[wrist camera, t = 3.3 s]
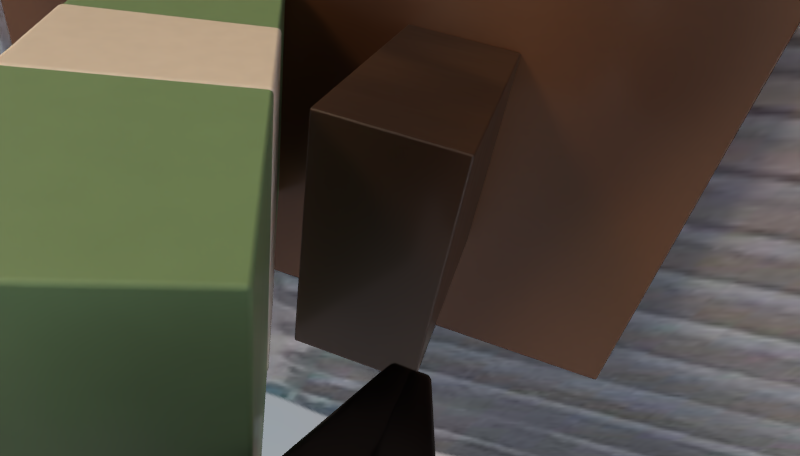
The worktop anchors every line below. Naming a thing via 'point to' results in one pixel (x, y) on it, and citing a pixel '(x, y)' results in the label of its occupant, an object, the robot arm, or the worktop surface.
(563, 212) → the walnut board
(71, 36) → the block
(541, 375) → the worktop surface
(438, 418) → the worktop surface
